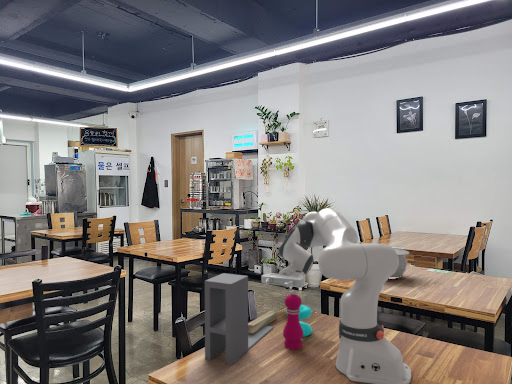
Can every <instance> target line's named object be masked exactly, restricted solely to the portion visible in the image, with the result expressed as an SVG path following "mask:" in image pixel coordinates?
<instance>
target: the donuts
mask: <svg viewBox="0 0 512 384" xmlns="http://www.w3.org/2000/svg"><path fill="white" fill-rule="evenodd" d="M299 308H300V313H299V322H300V325H301V327H302V330H303V337H302V338H304V337H309V335H311V334H312V330H313V329H312V327H311V325H310V324H309V323H307V322H305V321H300V320H306V319H308V318H310V317H311V315H312V314H313V311H312V308H311V307H309V306H308V305H305V304H301V306H300V307H299ZM285 312H286V311H285ZM286 314H287V312H286Z"/></svg>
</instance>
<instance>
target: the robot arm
mask: <svg viewBox="0 0 512 384" xmlns="http://www.w3.org/2000/svg"><path fill="white" fill-rule="evenodd" d="M357 233H358V232H357V231H356V229H355V228H354V227H353V225H351V224H350V222H349V221H348V220H347V219H346V218H345V217H344V215H343V214H341V213H340V212H339V211H338V210H335V209H333V208H331V207H330V208H329V207H328V208H327V207H326V208H322V209H321V210H319V211H310V212H308V213H306V214H305V215H304V216H303V218H302V220H301V221H300V222H298V223H297V224H296V225H295V226H293V227H292V229H291V230H290V231H288V234H287V235H286V237H285V238H284V240H283V241H282V242H281V244H280V245H279V247H278V256H279V257H281V258H282V259H284V260H286V261H287V262H288V263H290V264H289V265H287V266H285V267H284V268H282V269H280V270H279V272H278V273H274V272H268V273H264V274H262V275H261V277H260V278H261V283H262V284H265V286H269V285H274V286H275V285H276V286H283V287H285V288H291V287H293V288H294V287H295V288H303V287H304V286H305V284H306V283H305V282H306V281H305V280H306V278H305V277H306V274H308V273H309V271H310V270H311V269H312V267H313V265H314V256H313V254H312V253H310V252H309V251H308V250H306V249H305V248H309V249H310V248H315V247H323V249H322V250H321V251H320V253H319V254H318V259H317V261H318V262H317V263H318V267H319V270H320V272H321V273H322V275H323V277H325V278H327V279H331V280H336V281H350V280H351V281H352V280H355V281H354V283H353V285H352V286H351V287H350V288H348V289H347V290H346V291H344V292H343V293H342V295H341V297H340V320H338V321H339V322H338V338H339V343H338V344H339V345H338V353H337V357H336V360H335V367H336V369H337V370H338V371H339V372H340V373H342V374H344V375H345V376H346V377H347V378H348V379H349V381H351V382H359V383H365V384H410V383H411V381H412V376H413V375H412V370H411V367H410V366H409V365H408V364H407V363H405V362H404V359H403V355H402V352H401V351H400V349H399V348H398V347H396V346H395V345H394V344H393V343H392V342H390V341H389V340H388V339H387V338H386V337H385V330H384V329H385V328H384V324H382V325H381V324H380V323H378V303H379V299H380V295H381V292H382V290H383V288H384V285H385V284H386V282H387V281H389V280H388V279H389V277H390V276H392V275H393V274H394V273H395V272H396V270H397V268H398V264H399V259H398V255H397V253H396V251H395V250H394V249H393V248H394V247H393V246H391V245H389V244H384V243H377V242H373V243H372V242H371V243H369V242H368V243H358V239H359V238H358V234H357Z"/></svg>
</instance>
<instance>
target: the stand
mask: <svg viewBox="0 0 512 384" xmlns="http://www.w3.org/2000/svg"><path fill="white" fill-rule="evenodd" d="M248 323H249V275H243V274H242V275H241V274H235V273H225V272H224V273H220V274H219V275H215V276H213V277H211V278H209V279H206V280H204V359H205V360H208V361H210V360H212V359H214V357H216V356H217V355H219V354H220V353H221V352H222V351H224V350H225V364H226V365H229V366H232V365H233V364H234V363H236V361H238V360H240V358H241V357H243V355H244V354H245V353H247V352H248V351H249V350H248Z"/></svg>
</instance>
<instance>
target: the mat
mask: <svg viewBox="0 0 512 384" xmlns="http://www.w3.org/2000/svg"><path fill="white" fill-rule="evenodd" d="M273 329H274V326H270V325H266V326H264V327H263V328H261V329H260V330H258V331H256V332H255V333H253V334H252V333H248V351H249V350H250V349H251V348H253V347H254V346H255V345H256V344H257V343H258V342H260V340H262V339H263V338H264V337H265V336H267V334H268V333H270V332H271V331H272V330H273Z"/></svg>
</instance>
